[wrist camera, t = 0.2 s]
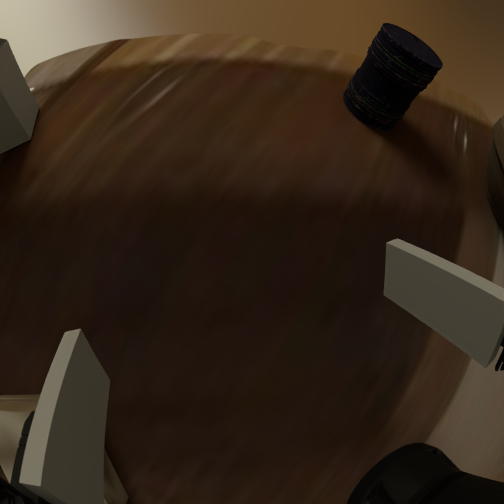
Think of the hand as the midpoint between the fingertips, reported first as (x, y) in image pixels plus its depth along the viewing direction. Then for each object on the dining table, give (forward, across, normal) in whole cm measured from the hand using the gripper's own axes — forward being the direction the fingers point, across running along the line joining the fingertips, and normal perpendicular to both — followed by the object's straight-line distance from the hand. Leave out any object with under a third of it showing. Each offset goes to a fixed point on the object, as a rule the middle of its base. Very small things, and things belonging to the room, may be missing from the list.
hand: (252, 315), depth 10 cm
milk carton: (+32, +25, -18) cm, 45 cm away
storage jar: (+27, -30, -10) cm, 42 cm away
